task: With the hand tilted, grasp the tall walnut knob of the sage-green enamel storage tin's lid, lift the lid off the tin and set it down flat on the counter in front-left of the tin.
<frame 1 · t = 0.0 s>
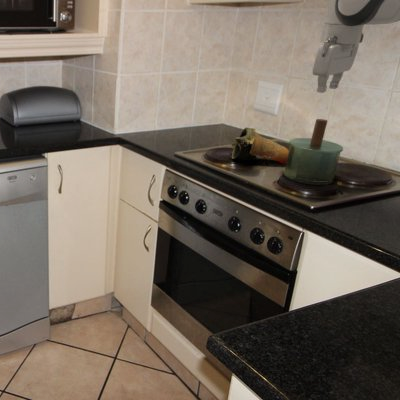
hand: (327, 90, 128), 26 cm above the countertop, tool pointing down, fingers open, 8 cm apart
tin lid: (315, 146, 136), point 9 cm above the countertop, touching tin
tin: (307, 177, 140), on the countertop
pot: (250, 161, 153), on the countertop
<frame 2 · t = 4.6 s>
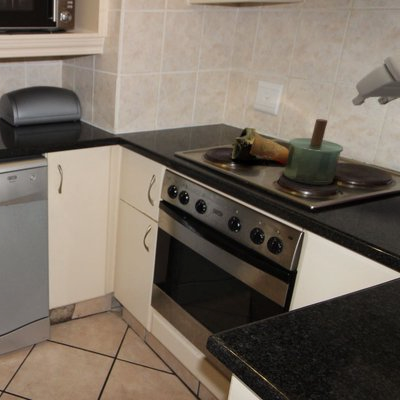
hand: (367, 102, 121), 24 cm above the countertop, tool tilted 45°, fingers open, 8 cm apart
nothing on the countertop moved.
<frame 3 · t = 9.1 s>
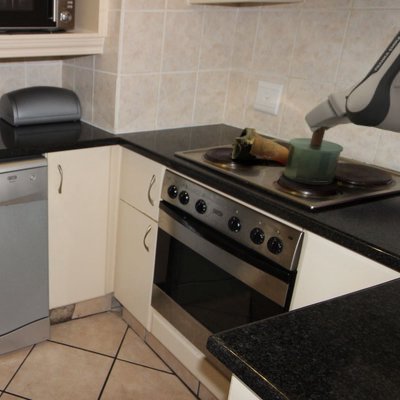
hand: (317, 129, 135), 14 cm above the countertop, tool tilted 45°, fingers closed on tin lid, 3 cm apart
tin lid: (315, 146, 136), point 10 cm above the countertop, touching gripper, tin
everything else where it was.
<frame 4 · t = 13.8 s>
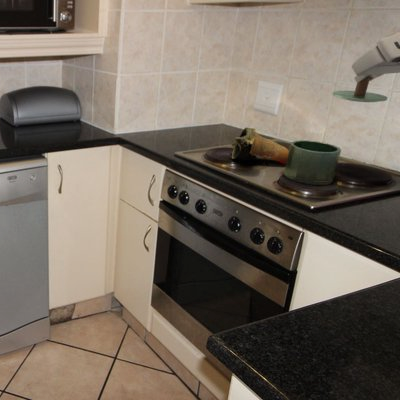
hand: (361, 79, 138), 27 cm above the countertop, tool tilted 45°, fingers closed on tin lid, 3 cm apart
tin lid: (359, 96, 139), point 22 cm above the countertop, touching gripper
everything else where it was.
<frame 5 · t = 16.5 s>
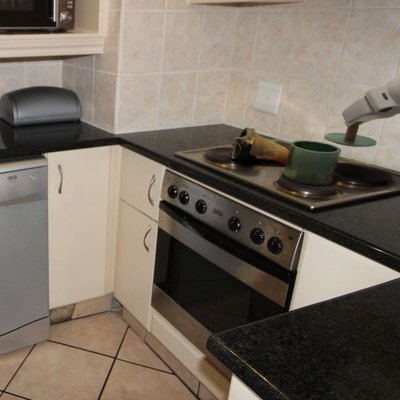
hand: (351, 124, 143), 14 cm above the countertop, tool tilted 45°, fingers closed on tin lid, 3 cm apart
tin lid: (349, 140, 145), point 9 cm above the countertop, touching gripper
everything else where it was.
when the fingers open (5 cm above the countertop, at t = 18.7 s): tin lid stays where it is, point 1 cm above the countertop.
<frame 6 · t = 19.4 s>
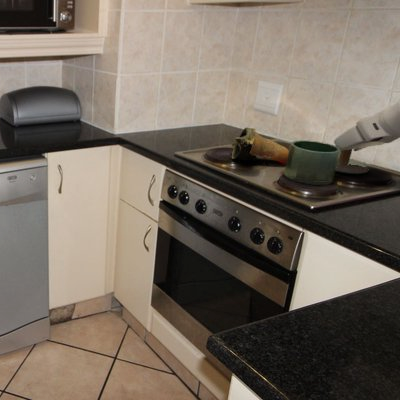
hand: (344, 150, 146), 6 cm above the countertop, tool tilted 45°, fingers open, 8 cm apart
tin lid: (342, 166, 148), point 1 cm above the countertop
everything else where it was.
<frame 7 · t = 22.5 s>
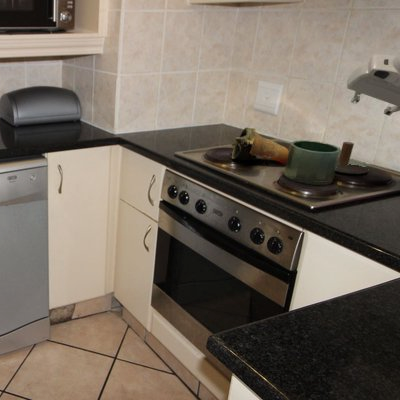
hand: (369, 107, 137), 20 cm above the countertop, tool tilted 40°, fingers open, 8 cm apart
nothing on the countertop moved.
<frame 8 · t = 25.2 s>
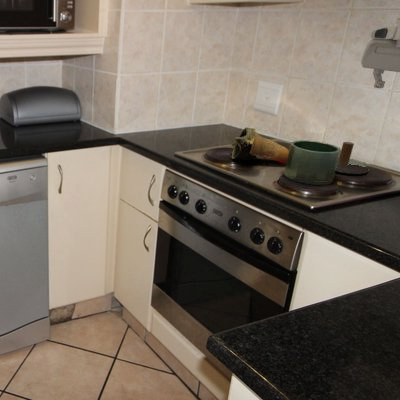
hand: (397, 91, 120), 27 cm above the countertop, tool pointing down, fingers open, 8 cm apart
nothing on the countertop moved.
at the end: tin lid point 0.6 cm above the countertop; tin lid inside the target area (0.2 cm from its centre), point 0.6 cm above the countertop; tin lid tilted 0° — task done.
